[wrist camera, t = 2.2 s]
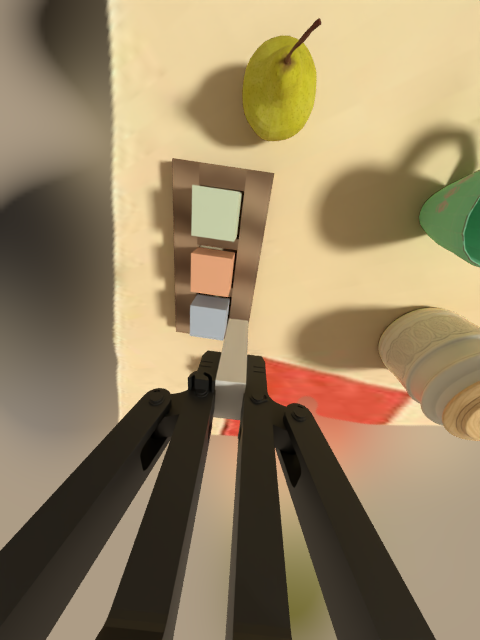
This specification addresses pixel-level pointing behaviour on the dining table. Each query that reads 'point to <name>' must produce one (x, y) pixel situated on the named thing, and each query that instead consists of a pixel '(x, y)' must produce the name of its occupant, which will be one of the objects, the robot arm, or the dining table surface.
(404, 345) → the jar
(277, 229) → the dining table surface
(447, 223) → the mug
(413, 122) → the dining table surface
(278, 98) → the fruit
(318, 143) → the dining table surface
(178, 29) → the dining table surface
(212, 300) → the button slate
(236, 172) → the button board
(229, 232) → the button sage
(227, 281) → the button terracotta
